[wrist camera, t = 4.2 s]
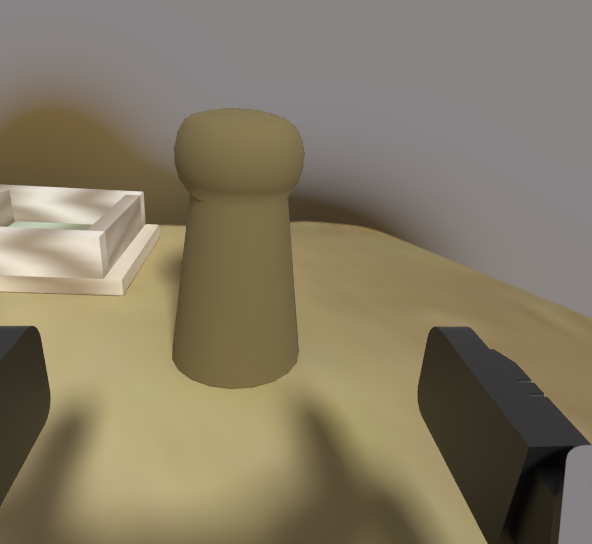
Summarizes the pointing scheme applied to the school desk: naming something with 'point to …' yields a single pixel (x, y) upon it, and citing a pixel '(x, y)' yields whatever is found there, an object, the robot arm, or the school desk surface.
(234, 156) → the cork
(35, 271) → the white divided tray
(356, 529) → the school desk surface
